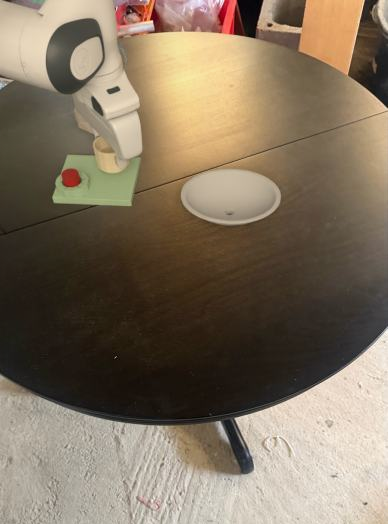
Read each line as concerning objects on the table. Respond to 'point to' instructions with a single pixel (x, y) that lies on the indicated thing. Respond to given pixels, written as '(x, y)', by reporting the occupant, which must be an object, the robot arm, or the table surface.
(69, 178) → the button
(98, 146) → the beige cup
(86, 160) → the green base plate
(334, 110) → the table surface
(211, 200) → the dish
